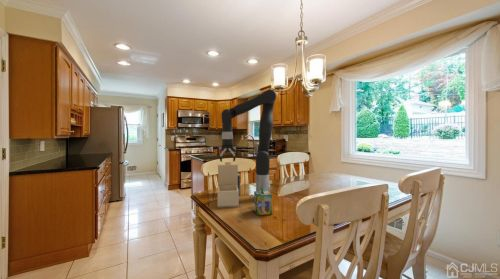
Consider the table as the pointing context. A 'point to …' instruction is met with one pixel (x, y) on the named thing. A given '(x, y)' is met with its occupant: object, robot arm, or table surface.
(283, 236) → the table surface
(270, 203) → the chalk box
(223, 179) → the carton lid
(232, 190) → the carton
